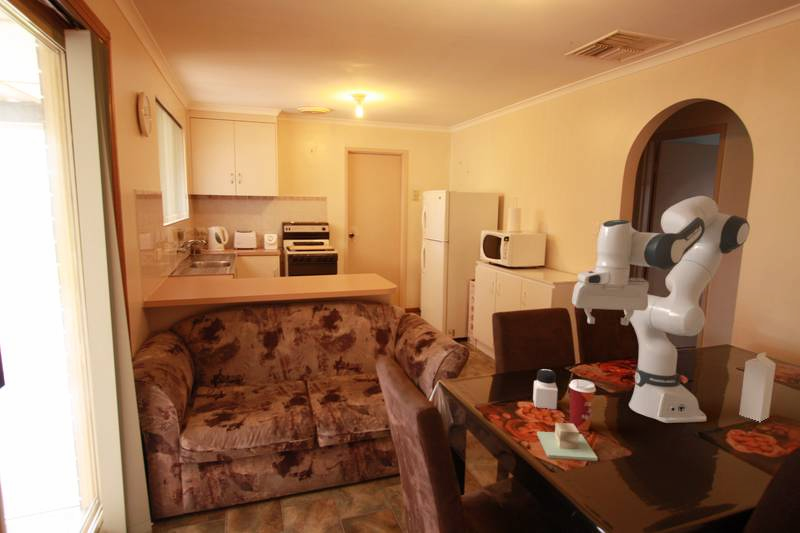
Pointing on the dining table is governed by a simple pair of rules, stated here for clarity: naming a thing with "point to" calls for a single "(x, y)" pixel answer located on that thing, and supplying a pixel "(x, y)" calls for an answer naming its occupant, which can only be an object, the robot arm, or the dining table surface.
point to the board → (555, 452)
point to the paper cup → (581, 403)
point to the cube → (566, 435)
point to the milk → (757, 388)
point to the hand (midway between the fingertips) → (607, 324)
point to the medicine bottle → (545, 390)
